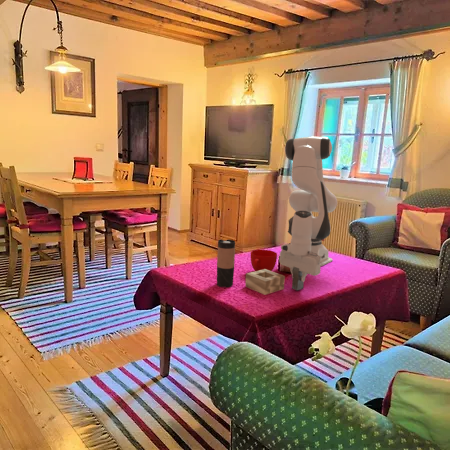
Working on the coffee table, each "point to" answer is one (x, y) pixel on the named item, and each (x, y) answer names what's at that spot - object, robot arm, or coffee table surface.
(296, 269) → the grey rectangular block
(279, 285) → the well block
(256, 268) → the ceramic cup
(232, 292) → the coffee table surface
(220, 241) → the travel mug
